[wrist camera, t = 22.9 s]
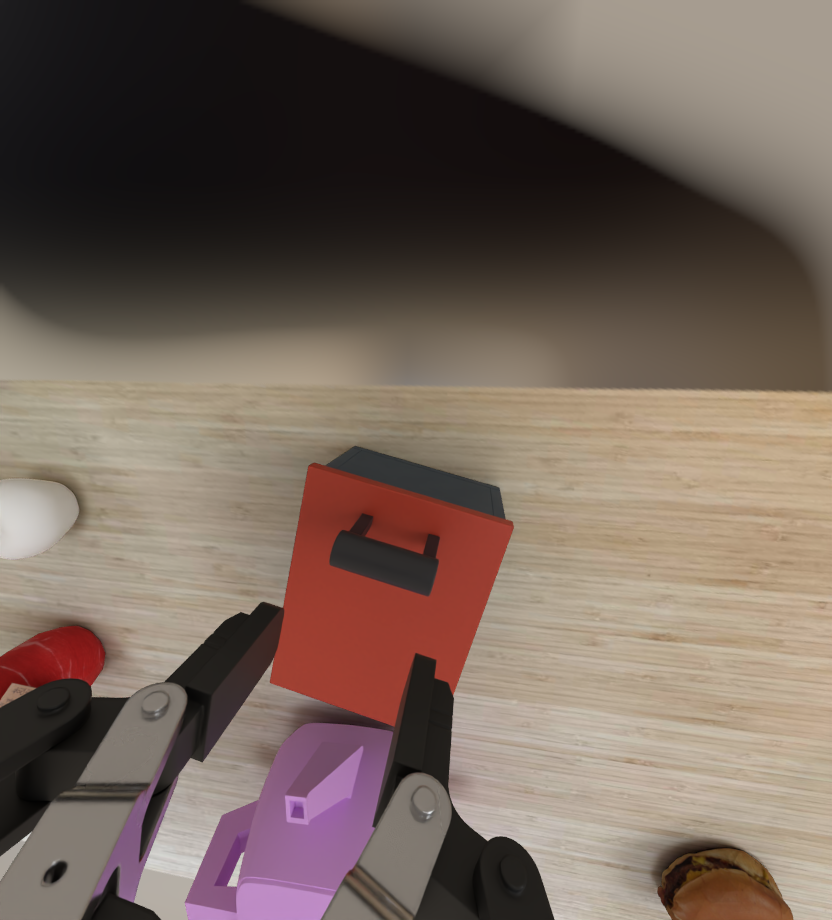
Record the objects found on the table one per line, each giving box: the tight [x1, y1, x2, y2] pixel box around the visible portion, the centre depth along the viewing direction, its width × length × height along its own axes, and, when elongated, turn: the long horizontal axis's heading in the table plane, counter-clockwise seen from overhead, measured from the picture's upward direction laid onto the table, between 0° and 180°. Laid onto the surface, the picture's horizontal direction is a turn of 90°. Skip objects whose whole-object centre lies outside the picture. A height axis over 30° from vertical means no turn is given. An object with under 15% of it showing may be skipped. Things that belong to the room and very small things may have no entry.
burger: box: [658, 848, 793, 920], centre depth 34 cm, size 10×9×5 cm
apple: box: [0, 478, 79, 560], centre depth 33 cm, size 7×7×8 cm
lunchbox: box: [325, 446, 505, 519], centre depth 29 cm, size 16×12×8 cm
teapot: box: [185, 723, 393, 920], centre depth 32 cm, size 19×18×15 cm
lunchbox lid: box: [270, 463, 514, 727], centre depth 22 cm, size 16×12×5 cm
